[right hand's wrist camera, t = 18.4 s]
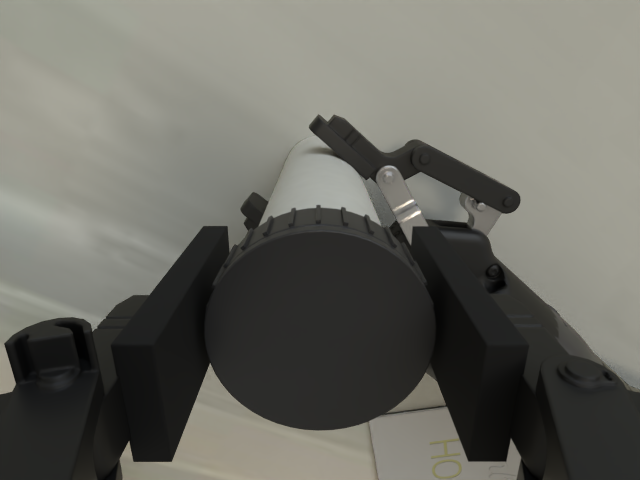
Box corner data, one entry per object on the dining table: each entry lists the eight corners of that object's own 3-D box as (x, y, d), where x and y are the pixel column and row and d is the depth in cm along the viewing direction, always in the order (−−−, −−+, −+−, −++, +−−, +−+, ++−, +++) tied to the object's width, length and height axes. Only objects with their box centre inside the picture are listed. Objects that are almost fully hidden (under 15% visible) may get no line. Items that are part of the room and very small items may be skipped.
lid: (183, 332, 12) (161, 373, 10) (281, 162, 10) (274, 178, 9) (350, 414, 13) (355, 464, 11) (464, 271, 12) (489, 304, 10)
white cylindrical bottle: (348, 210, 30) (390, 407, 12) (280, 199, 29) (219, 385, 12) (361, 141, 28) (433, 251, 10) (290, 129, 28) (236, 220, 10)
